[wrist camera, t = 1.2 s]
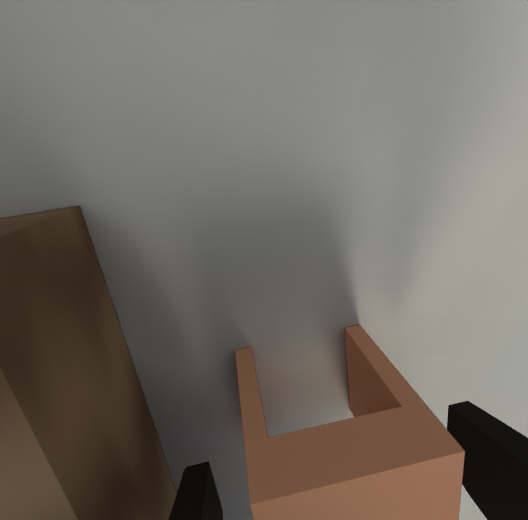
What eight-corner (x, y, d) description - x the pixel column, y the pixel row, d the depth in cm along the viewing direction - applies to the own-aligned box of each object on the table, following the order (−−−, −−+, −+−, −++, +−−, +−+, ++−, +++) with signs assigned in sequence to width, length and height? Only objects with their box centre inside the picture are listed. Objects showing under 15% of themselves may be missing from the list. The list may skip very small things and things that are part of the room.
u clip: (363, 406, 14) (454, 563, 8) (251, 432, 13) (275, 613, 8) (359, 324, 12) (465, 451, 7) (235, 350, 12) (249, 505, 7)
